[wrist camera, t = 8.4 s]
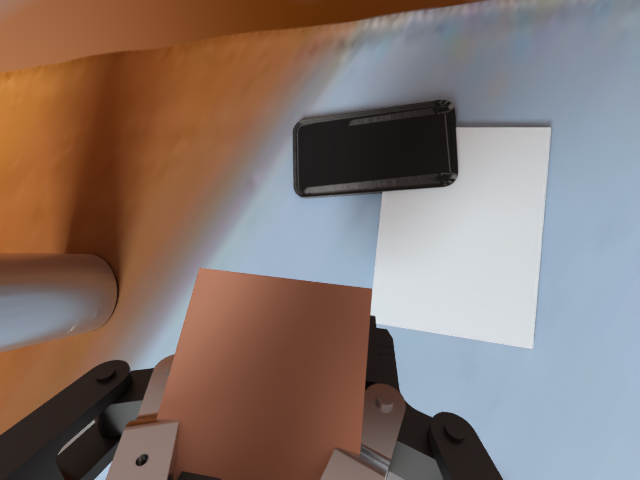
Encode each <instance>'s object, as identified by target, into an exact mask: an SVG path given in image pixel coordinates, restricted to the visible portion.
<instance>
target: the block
mask: <svg viewBox="0 0 640 480" xmlns="http://www.w3.org/2000/svg"><path fill="white" fill-rule="evenodd" d="M371 299H372V289H369V288H361V287H353V286H344V285H336V284H328V283H320V282H311V281H303V280H295V279H287V278H278V277H270V276H262V275H253V274H245V273H237V272H229V271H220V270H212V269H204V268H199V272H198V275H197V279H196V282H195V286H194V289H193V293H192V296H191V300H190V303H189V307H188V310H187V314H186V317H185V321H184V324H183V328H182V331H181V335H180V338H179V342H178V345H177V349H176V352H175V356H174V359H173V363H172V366H171V370H170V373H169V377H168V380H167V384H166V387H165V391H164V394H163V398H162V401H161V405H160V408H159V412H158V415H157V419H170V420H179V436H178V459H177V463H176V467H175V472H174V477H173V480H178V478H179V476H180V474H181V472H182V471H184V472H190V473H195V474H200V475H206V476H211V477H216V478H220V479H222V480H320V479H321V477H322V475H323V473H324V471H325V469H326V467H327V464H328V462H329V460H330V458H331V456H332V454H333V452H334V450H335V447H337V448H341V449H345V450H348V451H352V452H355V453H357V454H360V449H361V435H362V421H363V408H364V394H365V381H366V367H367V353H368V340H369V326H370V313H371Z"/></svg>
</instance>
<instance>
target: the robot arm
mask: <svg viewBox="0 0 640 480" xmlns="http://www.w3.org/2000/svg"><path fill="white" fill-rule="evenodd" d="M116 299H117V285H116V280H115V276H114V273H113V271H112V270H111V268H110V266H109V265H108V264H107V263H106V261H104V260H103V259H102V258H100V257H98V256H96V255H92V254H53V253H0V353H2V352H6V351H10V350H14V349H18V348H23V347H27V346H31V345H35V344H39V343H44V342H48V341H52V340H57V339H61V338H65V337H69V336H73V335H77V334H82V333H86V332H90V331H93V330H96V329H98V328H100V327H101V326H103V325H104V324H105V323H106V322H107V321H108V319H109V318H110V316H111V314H112V312H113V310H114V307H115V304H116ZM174 356H175V354H174V355H171V356H168V357H166V358H164V359H163V360H161V361H160V362H159V363H158V364H157V365H156V366H155V368H151V369H143V370H134V371H130V367H129V365H128V363H127V362H125V361H122V360H112V361H108V362H105V363H102V364H100V365H98V366H96V367H94V368H93V369H91V370H90V371H89V372H87V373H86V374H85V375H83V376H82V377H80V378H79V379H78V380H76V381H75V382H73V383H72V384H71V385H69V386H68V387H67V388H65V389H64V390H62V391H61V392H60V393H58V394H57V395H55V396H54V397H53V398H51V399H50V400H49V401H47V402H46V403H44V404H43V405H42V406H40V407H39V408H37V409H36V410H35V411H33V412H32V413H31V414H29V415H28V416H26V417H25V418H24V419H22V420H21V421H19V422H18V423H17V424H15V425H14V426H13V427H11V428H10V429H8V430H7V431H6V432H4V433H3V434H1V435H0V480H94V479H95V478H96V477H97V476H98V475H99V474H100V473H101V472H102V471H103V470H104V469H105V468H106V467H107V466H108V465H109V464H110V463H111V461H112V460H113V461H112V464H111V466H110V469H109V472H108V475H107V477H106V480H173V477H174V472H175V467H176V463H177V459H178V436H179V420H170V419H157V415H158V412H159V408H160V405H161V401H162V398H163V394H164V391H165V387H166V384H167V380H168V377H169V373H170V370H171V366H172V363H173V359H174ZM93 420H95V423H94V424H93V425H92V426H91V427H90V428H89V429H87V430H86V431H85V432H84V433H83V434H82V435H81V436H80V437H78V438H77V439H76V440H75V441H74V442H73V443H72V444H70V445H69V446H68V447H67V448H66V449H65V450H64V451H63V452H61V453H60V454H59V455H58V453H59V451H60V450H61V449H62V447H63V446H64V445H65V444H66V443H67V442H69V441H70V440H71V439H72V438H73V437H74V436H75V435H77V434H78V433H79V432H80V431H81V430H82V429H84V428H85V427H86V426H87V425H88V424H89V423H90V422H92V421H93ZM57 455H58V456H57ZM389 471H390V472H392V473H393V474H395V475H397V476H399V477H401V478H402V479H404V480H503V479H502V477H501V475H500V474H499V472H498V470H497V468H496V467H495V465H494V463H493V461H492V460H491V458H490V456H489V455H488V453H487V451H486V449H485V448H484V446H483V444H482V442H481V441H480V439H479V437H478V436H477V434H476V432H475V431H474V429H473V428H472V426H471V425H470V424H469V423H468V422H467V421H466V420H464V419H463V418H461V417H460V416H458V415H456V414H453V413H449V412H441V413H438V414H436V415H435V416H434V417H433V418H432V417H430V416H428V415H426V414H424V413H421V412H419V411H417V410H415V409H414V408H413V407H411V406H410V405H409V404H408V403H407V402H406V401H405V400H404V398H403V396H402V395H401V393H400V390H399V384H398V376H397V368H396V360H395V352H394V345H393V338H392V337H391V335H390V334H389V332H388V331H387V329H381V328H376V317H375V316H373V315H370V326H369V340H368V353H367V367H366V381H365V394H364V408H363V421H362V435H361V449H360V454H357V453H355V452H352V451H348V450H345V449H341V448H337V447H335V450H334V452H333V454H332V456H331V458H330V460H329V462H328V464H327V467H326V469H325V471H324V473H323V475H322V477H321V479H320V480H387V478H388V474H389ZM178 480H222V479H220V478H216V477H211V476H206V475H200V474H195V473H190V472H184V471H182V472H181V474H180V476H179V478H178Z"/></svg>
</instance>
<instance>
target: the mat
mask: <svg viewBox="0 0 640 480" xmlns="http://www.w3.org/2000/svg"><path fill="white" fill-rule="evenodd" d="M550 137H551V127H456V138H457V157H458V177H457V179H456V181H455V182H454V183H453V184H451V185H450V186H447V187H439V188H425V189H412V190H399V191H386V192H382V201H381V211H380V221H379V231H378V241H377V251H376V260H375V270H374V280H373V290H372V300H371V313H370V315H373V316H375V317H376V323H377V324H383V325H389V326H395V327H402V328H408V329H414V330H420V331H426V332H432V333H438V334H445V335H451V336H457V337H463V338H469V339H475V340H481V341H487V342H494V343H500V344H506V345H512V346H518V347H524V348H530V349H533V341H534V329H535V317H536V305H537V293H538V281H539V269H540V257H541V245H542V233H543V221H544V209H545V197H546V185H547V173H548V161H549V149H550Z"/></svg>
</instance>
